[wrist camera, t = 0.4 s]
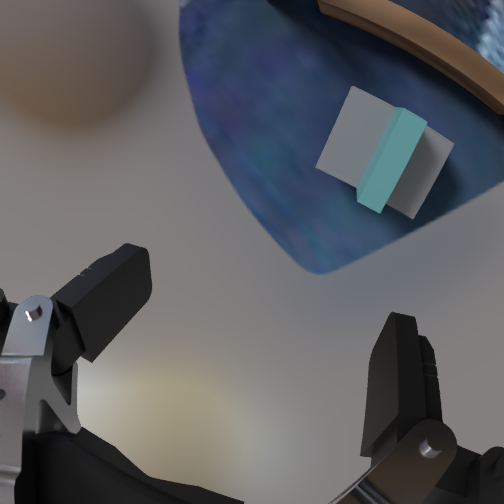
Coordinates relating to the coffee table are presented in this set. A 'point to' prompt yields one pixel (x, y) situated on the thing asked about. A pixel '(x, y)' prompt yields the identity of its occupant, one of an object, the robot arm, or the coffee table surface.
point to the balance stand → (384, 153)
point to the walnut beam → (423, 44)
